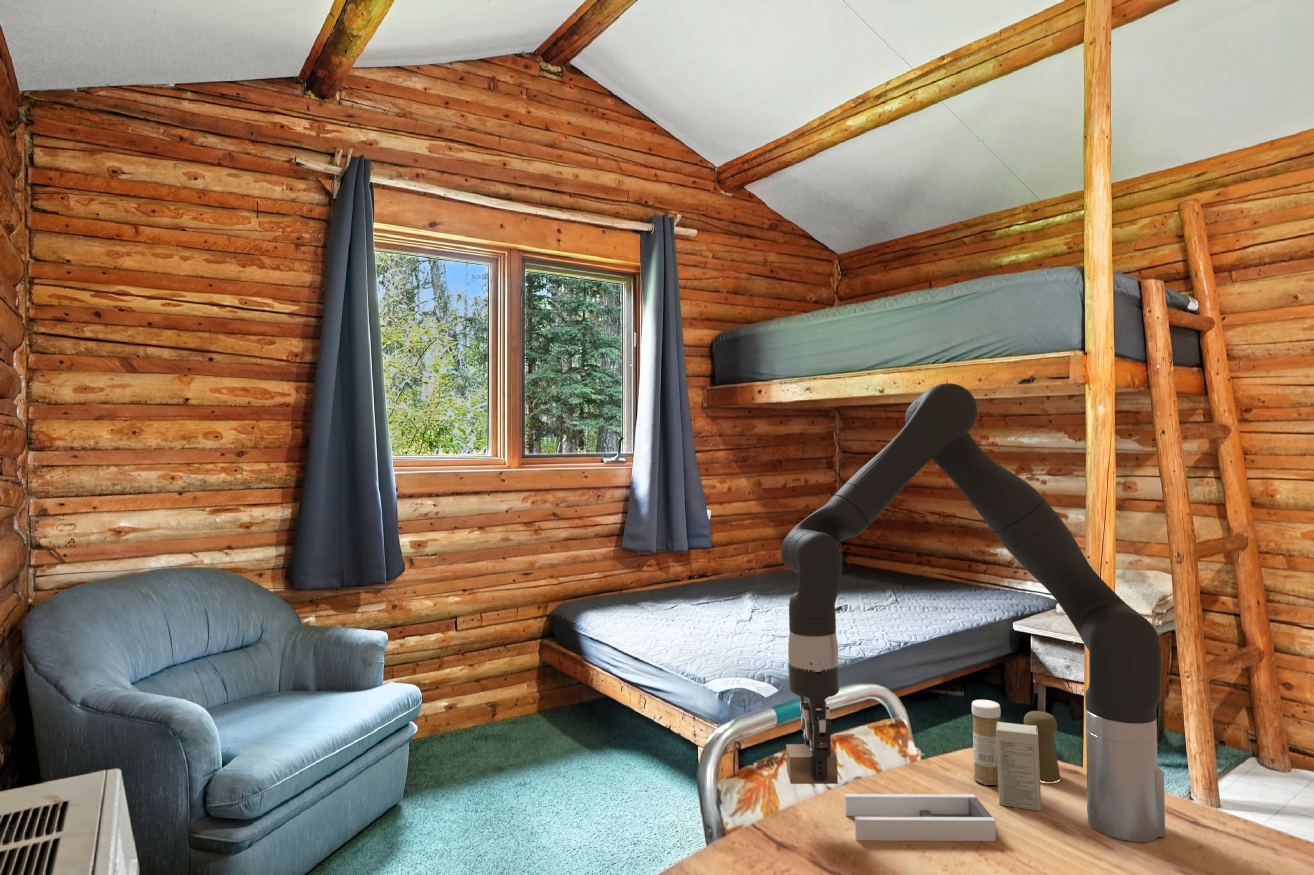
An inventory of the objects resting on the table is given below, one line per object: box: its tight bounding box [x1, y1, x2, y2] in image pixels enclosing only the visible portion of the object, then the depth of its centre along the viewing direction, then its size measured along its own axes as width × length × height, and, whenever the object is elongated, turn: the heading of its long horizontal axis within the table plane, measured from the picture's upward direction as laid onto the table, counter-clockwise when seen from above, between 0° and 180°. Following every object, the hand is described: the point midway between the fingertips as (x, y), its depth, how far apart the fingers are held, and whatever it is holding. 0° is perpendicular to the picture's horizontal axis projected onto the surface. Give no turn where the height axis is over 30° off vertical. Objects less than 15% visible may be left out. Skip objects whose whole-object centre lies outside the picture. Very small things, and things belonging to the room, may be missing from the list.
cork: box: [1023, 710, 1061, 782], centre depth 136 cm, size 6×6×11 cm
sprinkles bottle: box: [971, 699, 1002, 786], centre depth 134 cm, size 5×5×14 cm
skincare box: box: [996, 721, 1042, 811], centre depth 126 cm, size 6×4×12 cm
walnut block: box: [785, 743, 839, 785], centre depth 119 cm, size 7×5×4 cm
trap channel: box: [844, 793, 997, 842], centre depth 119 cm, size 20×8×3 cm, turn 88°
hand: (816, 771), depth 119 cm, fingers closed on walnut block, 5 cm apart
